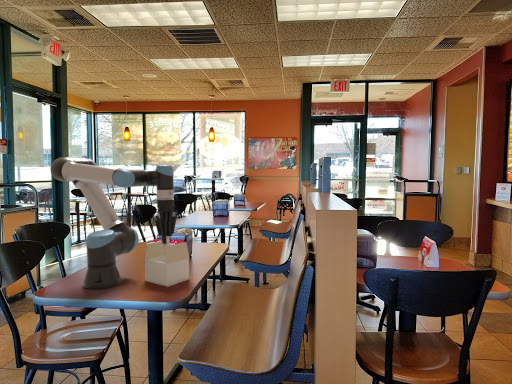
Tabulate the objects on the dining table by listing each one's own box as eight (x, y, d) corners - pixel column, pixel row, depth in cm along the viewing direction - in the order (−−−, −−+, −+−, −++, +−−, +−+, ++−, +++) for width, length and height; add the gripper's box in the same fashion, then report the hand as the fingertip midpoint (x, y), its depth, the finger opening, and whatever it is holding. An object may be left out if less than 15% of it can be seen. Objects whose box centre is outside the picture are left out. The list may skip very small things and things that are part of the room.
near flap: (167, 263, 154) (168, 263, 153) (163, 246, 154) (164, 246, 154) (188, 257, 164) (189, 257, 164) (185, 241, 165) (186, 241, 164)
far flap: (147, 244, 161) (146, 243, 161) (145, 259, 162) (144, 258, 163) (169, 239, 171) (168, 239, 171) (166, 253, 173) (166, 253, 173)
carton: (167, 286, 154) (166, 263, 154) (145, 280, 163) (144, 259, 162) (189, 279, 165) (188, 257, 164) (167, 274, 173) (166, 253, 173)
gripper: (159, 200, 154) (160, 254, 156) (181, 198, 165) (182, 248, 166) (148, 199, 159) (149, 251, 160) (170, 197, 169) (171, 246, 170)
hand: (166, 250), depth 163 cm, fingers closed
